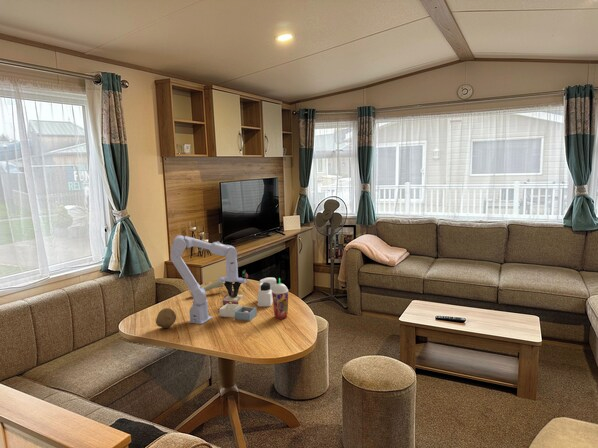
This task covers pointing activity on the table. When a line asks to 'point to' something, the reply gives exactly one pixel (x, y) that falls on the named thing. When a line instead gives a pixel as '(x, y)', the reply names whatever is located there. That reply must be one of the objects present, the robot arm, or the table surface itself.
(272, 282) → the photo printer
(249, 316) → the slate pot
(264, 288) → the medicine bottle
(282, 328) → the table surface
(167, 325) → the natural sponge
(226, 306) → the cream pot
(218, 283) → the flower vase
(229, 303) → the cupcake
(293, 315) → the table surface
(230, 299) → the lid
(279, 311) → the smoothie
